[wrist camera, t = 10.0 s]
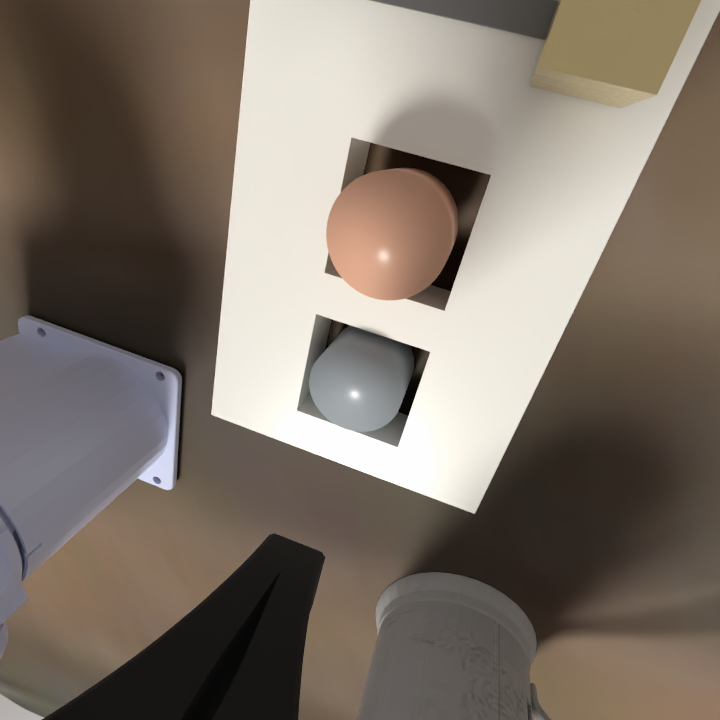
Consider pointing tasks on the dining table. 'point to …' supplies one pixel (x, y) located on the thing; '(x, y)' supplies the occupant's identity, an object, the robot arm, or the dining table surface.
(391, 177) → the terracotta button
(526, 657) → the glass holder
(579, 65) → the brass slider
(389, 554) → the dining table surface
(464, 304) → the white flat block
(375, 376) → the slate button
